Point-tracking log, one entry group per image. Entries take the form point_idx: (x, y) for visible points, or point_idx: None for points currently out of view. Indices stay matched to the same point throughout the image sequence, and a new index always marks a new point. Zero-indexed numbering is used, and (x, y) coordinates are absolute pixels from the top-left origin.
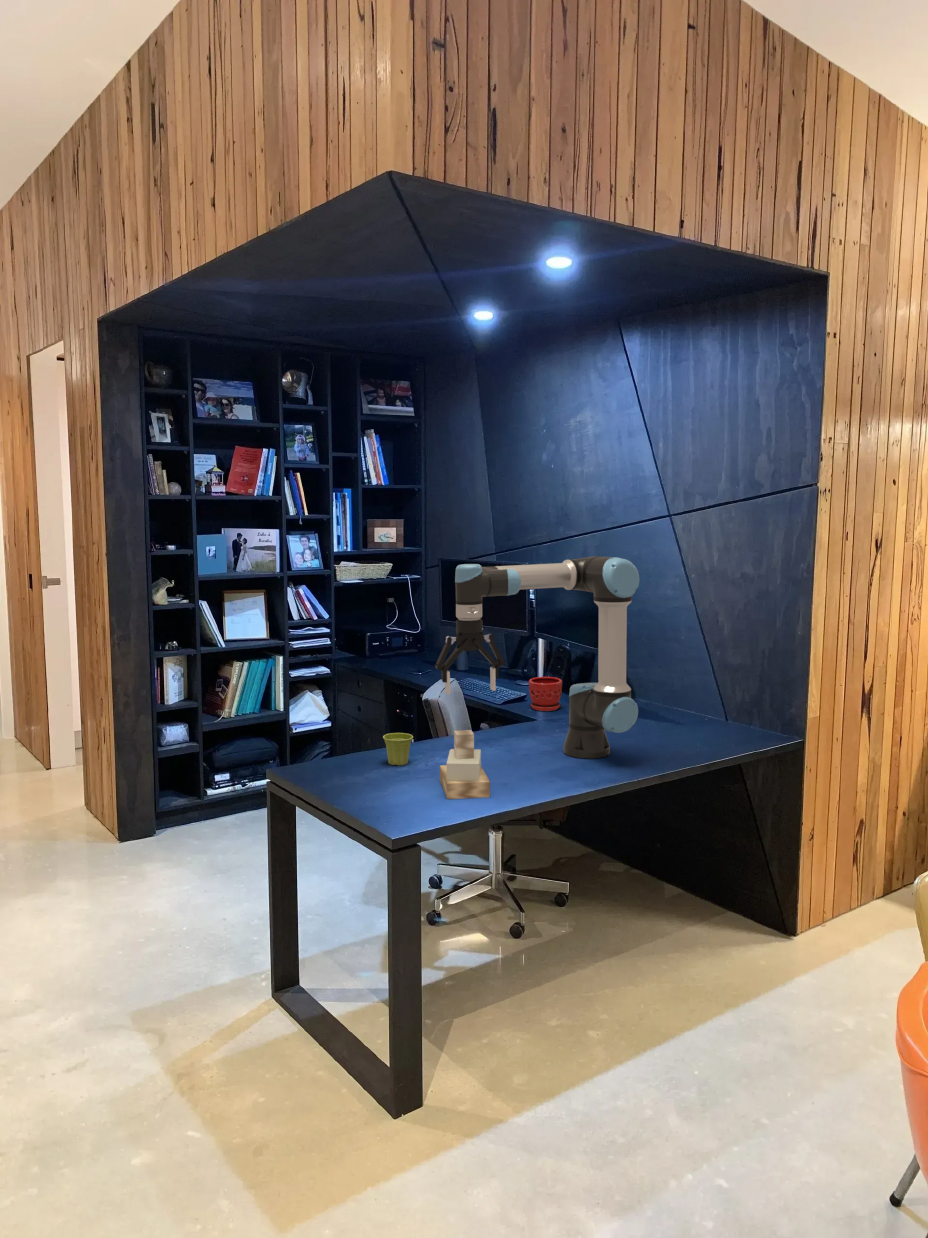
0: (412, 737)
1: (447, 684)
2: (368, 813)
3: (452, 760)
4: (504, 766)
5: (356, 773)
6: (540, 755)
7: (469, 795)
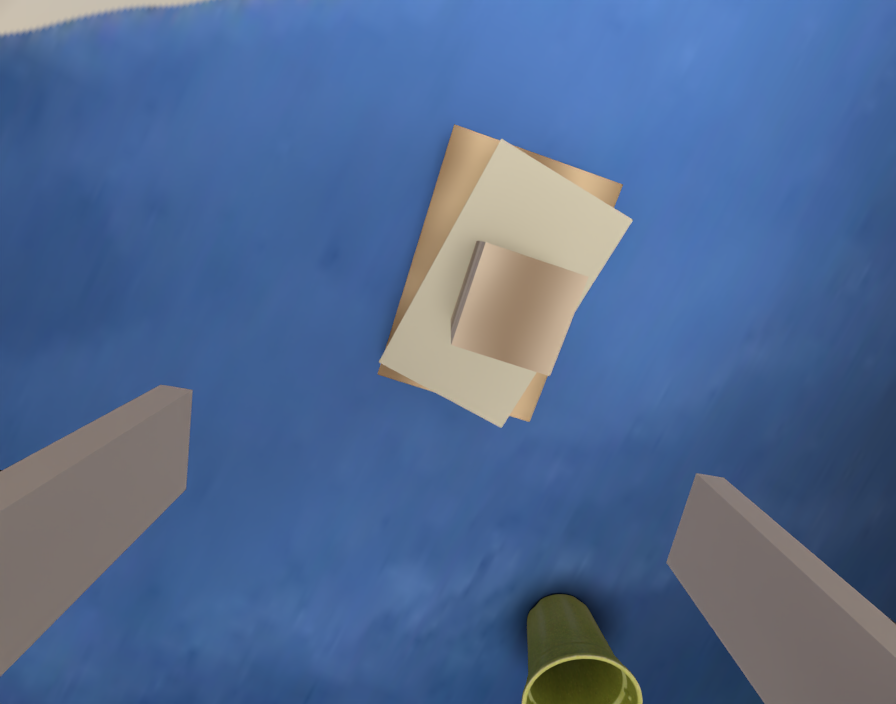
0: (536, 674)
1: (803, 549)
2: None
3: (583, 253)
4: (242, 445)
5: None
6: None
7: None
